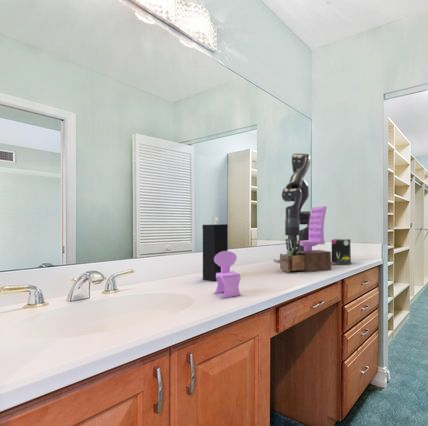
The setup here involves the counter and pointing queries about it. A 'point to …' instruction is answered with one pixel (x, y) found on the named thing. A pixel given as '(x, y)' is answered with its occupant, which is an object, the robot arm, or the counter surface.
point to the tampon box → (341, 251)
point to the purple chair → (315, 228)
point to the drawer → (291, 262)
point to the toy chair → (227, 274)
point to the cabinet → (317, 260)
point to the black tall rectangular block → (213, 248)
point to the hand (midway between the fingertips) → (292, 258)
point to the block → (290, 253)
